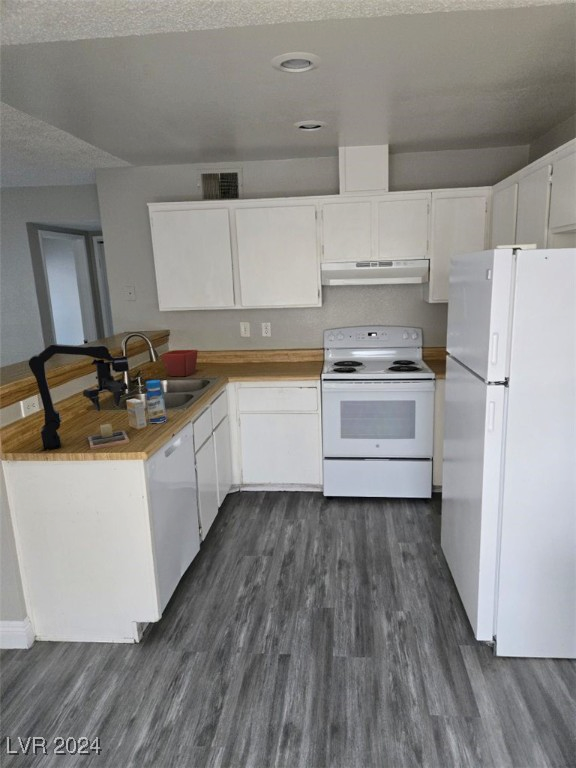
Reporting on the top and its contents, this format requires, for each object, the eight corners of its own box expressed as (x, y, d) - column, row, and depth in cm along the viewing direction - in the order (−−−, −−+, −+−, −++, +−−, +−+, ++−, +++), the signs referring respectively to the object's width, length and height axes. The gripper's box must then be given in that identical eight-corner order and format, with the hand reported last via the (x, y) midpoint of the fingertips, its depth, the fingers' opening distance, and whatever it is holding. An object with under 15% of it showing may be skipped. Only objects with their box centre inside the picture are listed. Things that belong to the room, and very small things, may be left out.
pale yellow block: (102, 440, 219) (101, 427, 218) (102, 438, 223) (100, 425, 222) (113, 439, 221) (111, 425, 219) (112, 436, 225) (110, 423, 223)
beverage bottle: (170, 419, 246) (165, 379, 242) (161, 424, 238) (156, 383, 234) (154, 418, 249) (149, 379, 244) (145, 423, 241) (140, 383, 237)
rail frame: (91, 449, 208) (90, 447, 208) (88, 439, 223) (88, 436, 222) (129, 442, 214) (129, 439, 214) (124, 432, 229) (124, 430, 228)
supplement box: (129, 427, 237) (125, 400, 235) (138, 424, 241) (134, 398, 238) (137, 430, 232) (134, 402, 229) (147, 427, 235) (143, 400, 232)
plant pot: (177, 372, 371) (174, 349, 368) (200, 372, 365) (198, 349, 362) (163, 378, 354) (160, 354, 350) (187, 378, 348) (184, 354, 344)
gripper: (95, 379, 205) (99, 416, 208) (133, 371, 220) (137, 406, 223) (80, 377, 212) (84, 412, 215) (118, 369, 226) (122, 403, 229)
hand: (108, 408), depth 220 cm, fingers open, 9 cm apart
